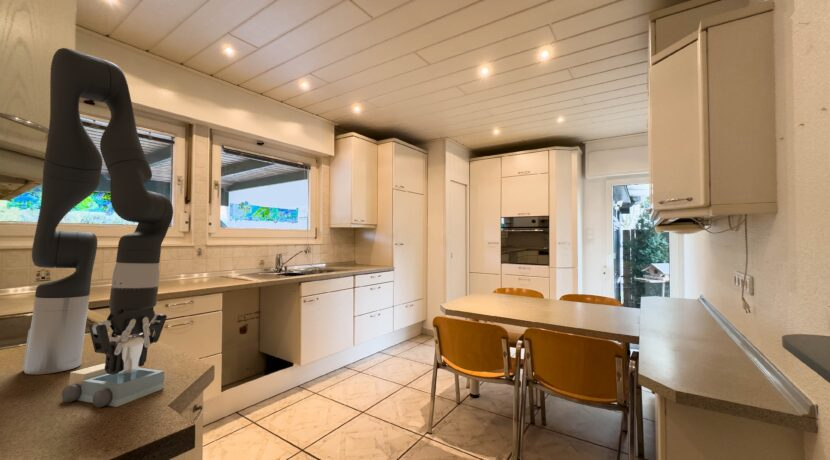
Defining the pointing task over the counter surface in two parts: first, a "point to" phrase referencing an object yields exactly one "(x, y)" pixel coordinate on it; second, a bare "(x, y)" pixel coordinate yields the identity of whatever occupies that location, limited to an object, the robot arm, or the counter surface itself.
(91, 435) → the counter surface
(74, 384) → the chassis
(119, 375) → the milkshake
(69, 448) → the counter surface
